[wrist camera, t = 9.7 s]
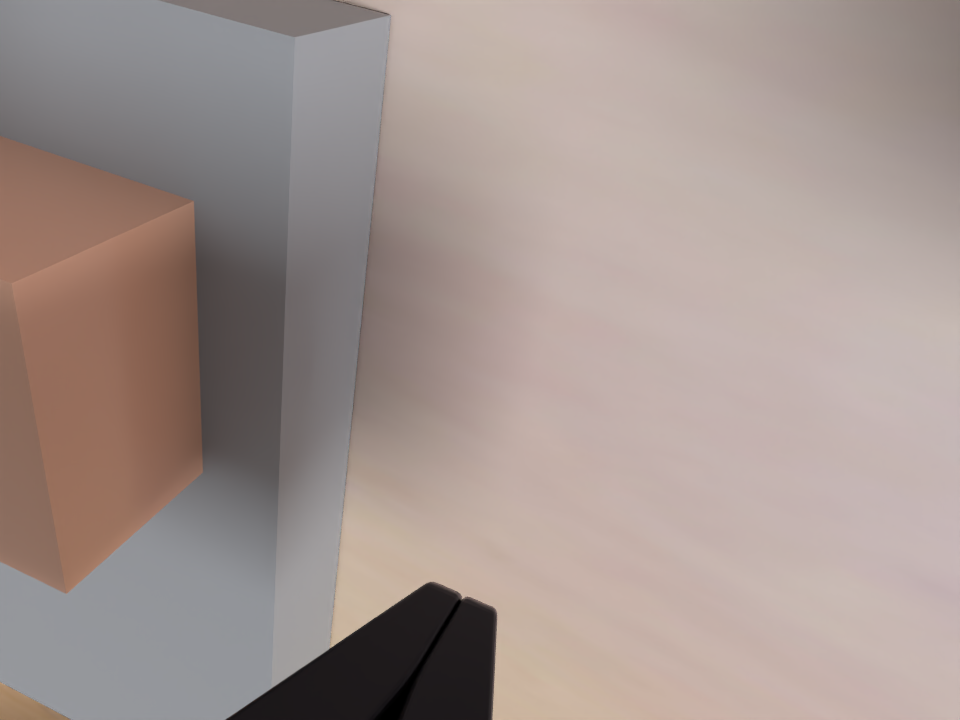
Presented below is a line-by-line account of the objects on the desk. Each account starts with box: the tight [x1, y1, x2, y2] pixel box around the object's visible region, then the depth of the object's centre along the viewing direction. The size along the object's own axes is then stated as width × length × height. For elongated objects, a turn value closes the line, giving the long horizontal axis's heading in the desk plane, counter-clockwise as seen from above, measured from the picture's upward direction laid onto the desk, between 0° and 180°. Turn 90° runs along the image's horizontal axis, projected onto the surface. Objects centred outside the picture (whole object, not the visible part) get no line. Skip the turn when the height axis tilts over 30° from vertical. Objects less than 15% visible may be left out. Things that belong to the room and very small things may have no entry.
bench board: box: [0, 0, 391, 720], centre depth 16 cm, size 18×11×2 cm, turn 170°
